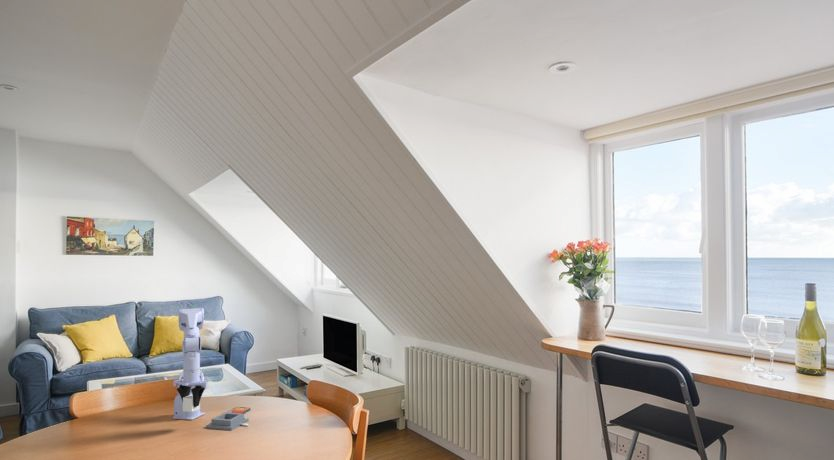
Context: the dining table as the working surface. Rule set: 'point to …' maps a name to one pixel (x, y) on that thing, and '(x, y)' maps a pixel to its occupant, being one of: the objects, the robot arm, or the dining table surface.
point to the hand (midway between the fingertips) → (191, 405)
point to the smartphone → (239, 410)
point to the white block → (189, 404)
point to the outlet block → (228, 421)
